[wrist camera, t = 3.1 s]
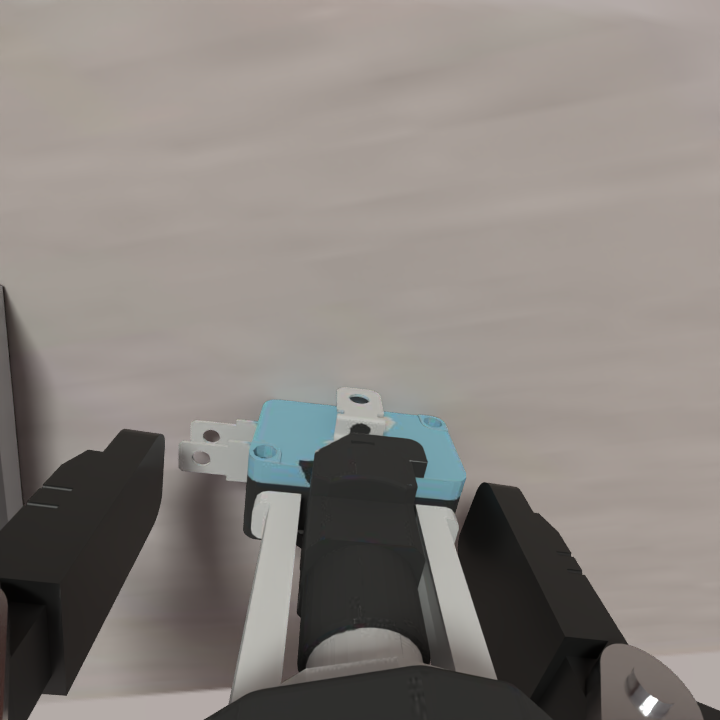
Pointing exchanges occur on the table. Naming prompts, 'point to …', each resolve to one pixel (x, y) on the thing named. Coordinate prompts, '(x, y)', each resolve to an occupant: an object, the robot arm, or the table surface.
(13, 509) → the tray
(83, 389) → the table surface
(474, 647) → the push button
